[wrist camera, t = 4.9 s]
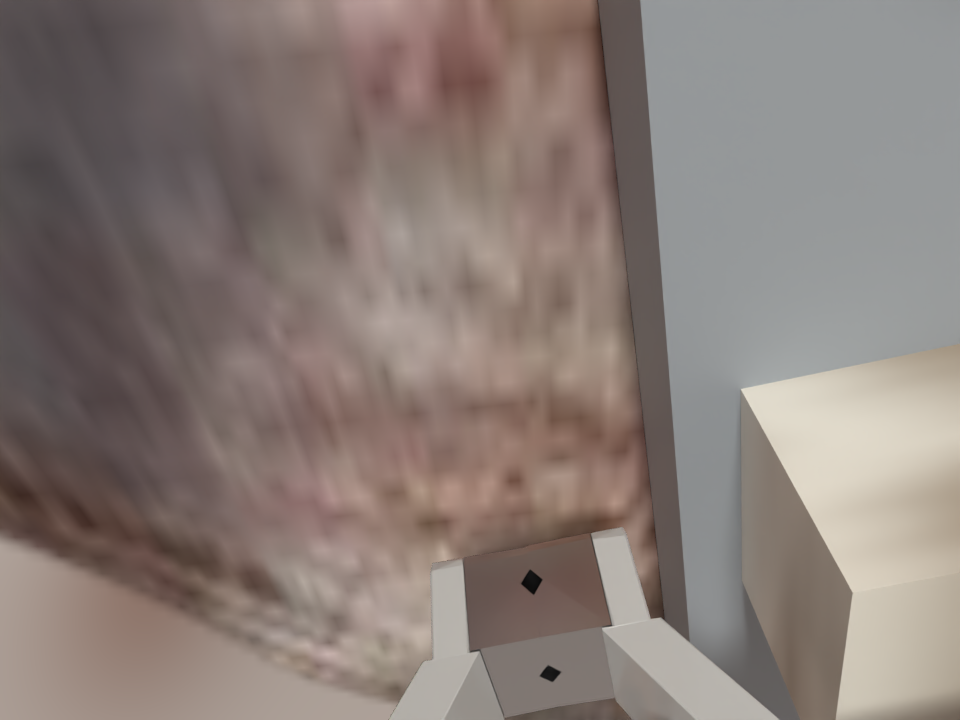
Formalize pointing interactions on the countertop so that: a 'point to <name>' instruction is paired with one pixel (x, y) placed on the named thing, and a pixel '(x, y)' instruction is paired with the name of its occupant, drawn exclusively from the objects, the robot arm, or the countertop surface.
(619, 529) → the robot arm
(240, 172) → the countertop surface
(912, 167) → the track
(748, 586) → the cream block
